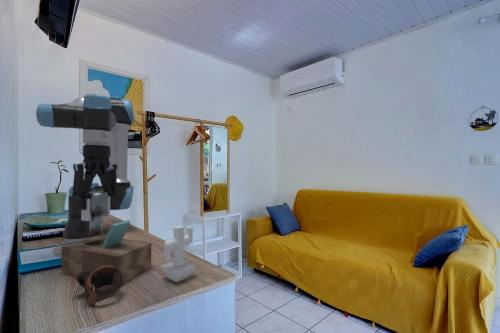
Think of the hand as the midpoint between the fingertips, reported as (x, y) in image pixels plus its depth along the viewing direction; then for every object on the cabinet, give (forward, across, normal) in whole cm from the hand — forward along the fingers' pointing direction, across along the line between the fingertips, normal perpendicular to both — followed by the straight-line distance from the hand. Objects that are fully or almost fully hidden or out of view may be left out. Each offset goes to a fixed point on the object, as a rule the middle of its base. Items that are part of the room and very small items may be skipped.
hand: (96, 218), depth 81 cm
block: (+16, 0, -5) cm, 17 cm away
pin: (+5, 0, 0) cm, 5 cm away
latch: (+4, 0, -9) cm, 10 cm away
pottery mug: (+16, -12, -16) cm, 25 cm away
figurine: (+16, +4, -28) cm, 33 cm away
